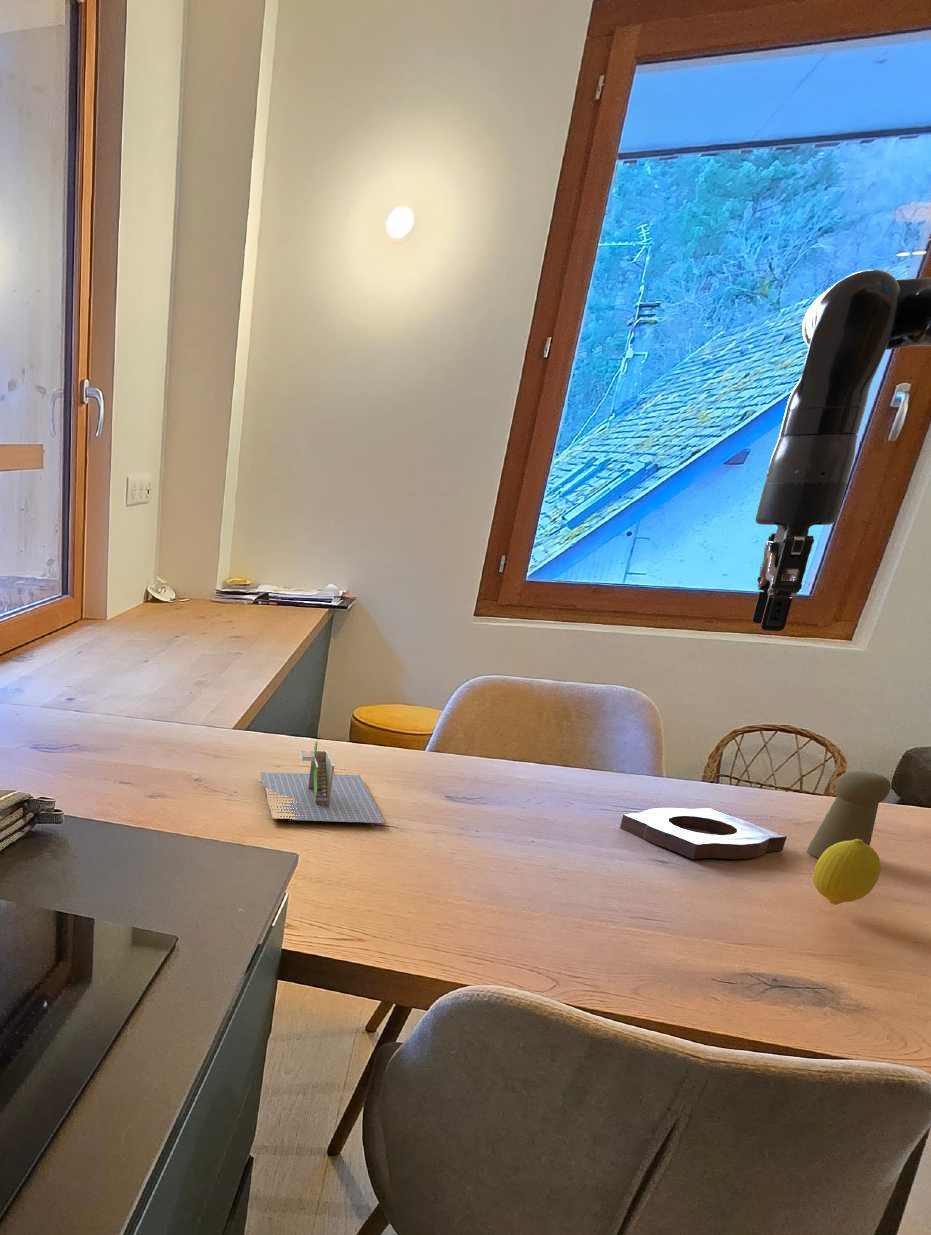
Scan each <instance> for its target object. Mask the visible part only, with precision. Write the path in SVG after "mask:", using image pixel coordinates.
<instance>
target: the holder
mask: <svg viewBox="0 0 931 1235" xmlns="http://www.w3.org/2000/svg"><path fill="white" fill-rule="evenodd" d="M619 829H622V830H624V831H626V832H629V833H630V834H633V835H636V836H638V837H640V838H642V839H644V840H645V841H647V842H650V843H652V844H654V845H658V846H659V847H661V848H665V849H668V850H671V851H673V852H675V853H678V854H680V855H682V856H685V857H687V858H689V859H692V860H698V859H709V858H711V859H712V858H713V859H725V860H727V859H728V860H744V859H753V858H754V859H755V858H757V857H759V856H761V855H763V854H765V853H775V852H782V851H783V850H784V847H785V844H786V841H787V838H788V837H787V836H786V835H783V834H780V833H779V832H778V833H777V832H775V831H772V830H769V829H766V828H764V827H762V826H759V825H757V824H754V823H752V822H749V821H746V820H743V819H741V818H738V817H734V816H731V815H728V814H725V813H723V812H720V811H717V810H714V809H713V808H710V807H709V808H708V807H703V808H680V807H679V808H678V807H677V808H676V807H660V808H649V809H646V810H644V811H642V812H637V813H628V814H627V813H625V814H622V818H621V821H620V825H619ZM692 830H696V831H701V832H696V831H692ZM703 832H707V833H703ZM710 833H711V834H710Z"/></svg>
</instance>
